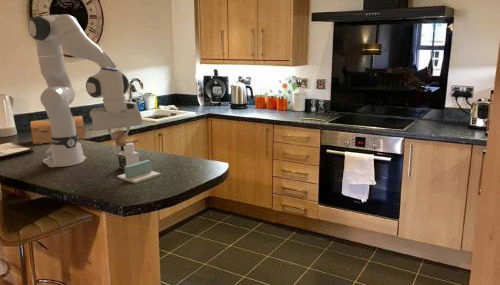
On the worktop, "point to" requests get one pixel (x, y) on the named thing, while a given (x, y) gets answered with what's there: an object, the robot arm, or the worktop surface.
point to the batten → (119, 137)
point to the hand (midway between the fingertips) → (119, 137)
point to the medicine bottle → (128, 155)
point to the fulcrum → (138, 172)
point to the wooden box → (43, 130)
